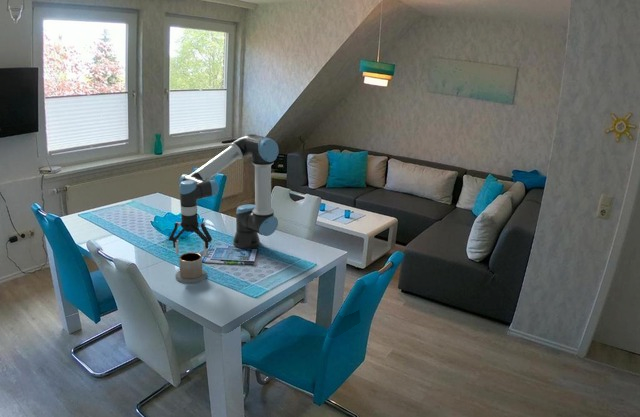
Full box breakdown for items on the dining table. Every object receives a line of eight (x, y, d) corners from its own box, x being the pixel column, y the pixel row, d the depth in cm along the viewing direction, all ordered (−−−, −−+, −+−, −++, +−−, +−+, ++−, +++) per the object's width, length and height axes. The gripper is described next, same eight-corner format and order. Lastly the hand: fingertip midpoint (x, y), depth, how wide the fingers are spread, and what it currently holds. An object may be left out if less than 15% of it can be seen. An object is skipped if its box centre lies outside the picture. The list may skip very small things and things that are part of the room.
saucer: (209, 270, 255) (209, 268, 254) (203, 284, 240) (203, 282, 240) (180, 268, 254) (180, 267, 254) (171, 282, 240) (171, 280, 240)
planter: (193, 267, 254) (192, 250, 251) (207, 274, 248) (206, 257, 245) (175, 274, 246) (174, 256, 243) (188, 281, 240) (188, 263, 237)
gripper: (217, 211, 240) (218, 251, 247) (165, 209, 240) (168, 249, 247) (214, 217, 233) (215, 258, 240) (160, 215, 233) (163, 256, 240)
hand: (191, 254), depth 244 cm, fingers open, 13 cm apart
